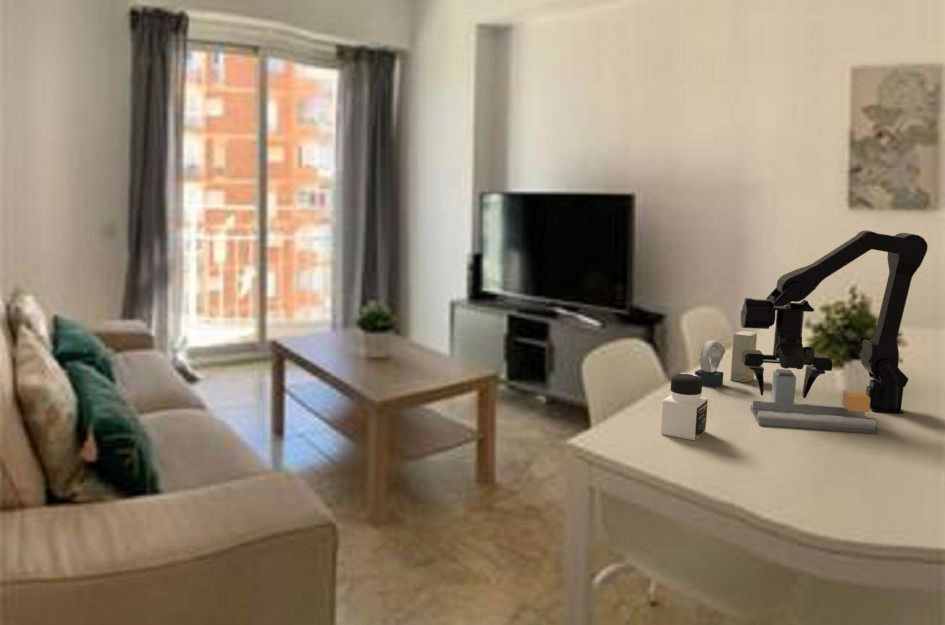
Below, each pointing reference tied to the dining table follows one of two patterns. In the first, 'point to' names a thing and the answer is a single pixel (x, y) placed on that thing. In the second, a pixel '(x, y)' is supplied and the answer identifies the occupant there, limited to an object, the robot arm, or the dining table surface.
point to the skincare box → (741, 343)
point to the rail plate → (812, 417)
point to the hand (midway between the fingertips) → (782, 396)
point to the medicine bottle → (684, 408)
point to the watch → (711, 364)
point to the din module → (783, 386)
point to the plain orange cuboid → (856, 401)
